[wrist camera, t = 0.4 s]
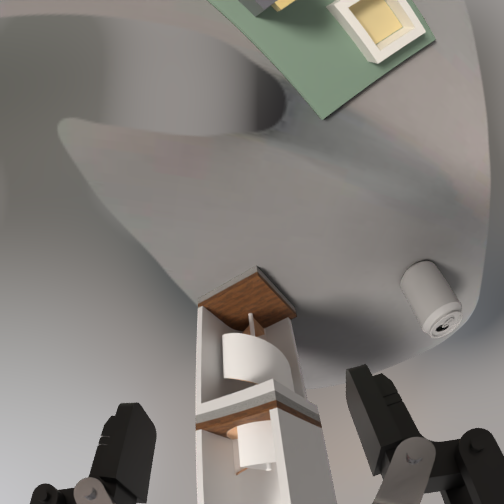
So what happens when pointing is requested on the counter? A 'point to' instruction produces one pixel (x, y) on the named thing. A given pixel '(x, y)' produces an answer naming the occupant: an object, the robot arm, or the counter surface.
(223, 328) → the white tall box
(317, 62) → the board
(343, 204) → the counter surface
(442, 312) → the can
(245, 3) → the plug
